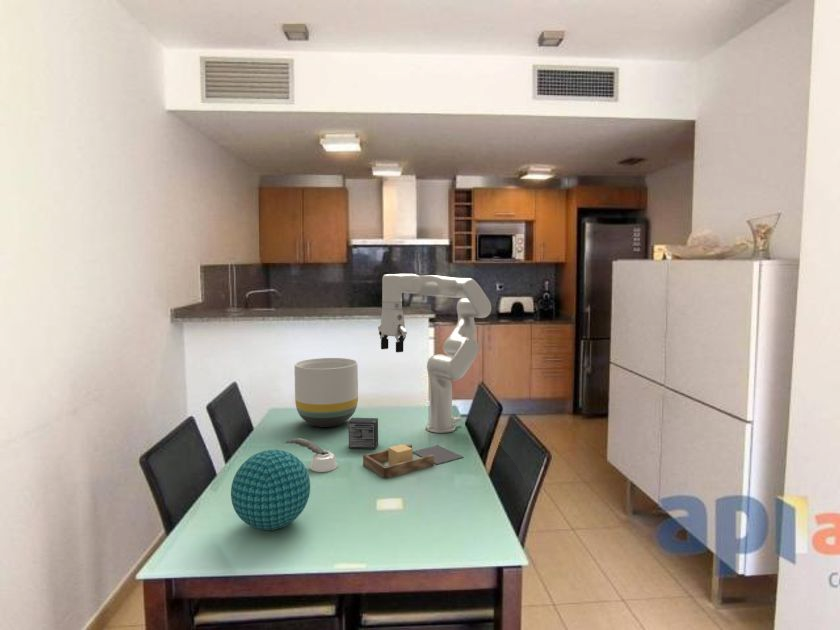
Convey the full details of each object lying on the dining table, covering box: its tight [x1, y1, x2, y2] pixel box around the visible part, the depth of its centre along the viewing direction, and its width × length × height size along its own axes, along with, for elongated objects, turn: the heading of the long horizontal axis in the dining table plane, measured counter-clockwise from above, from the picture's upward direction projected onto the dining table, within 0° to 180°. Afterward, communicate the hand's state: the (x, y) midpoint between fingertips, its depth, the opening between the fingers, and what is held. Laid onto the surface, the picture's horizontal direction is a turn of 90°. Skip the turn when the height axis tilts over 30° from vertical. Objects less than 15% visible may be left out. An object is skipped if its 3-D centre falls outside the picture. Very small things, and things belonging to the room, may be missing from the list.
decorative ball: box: [230, 449, 311, 531], centre depth 137 cm, size 20×20×20 cm
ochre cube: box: [388, 443, 414, 466], centre depth 180 cm, size 6×6×6 cm
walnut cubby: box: [362, 443, 435, 480], centre depth 180 cm, size 20×14×4 cm
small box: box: [348, 417, 379, 450], centre depth 199 cm, size 11×6×10 cm, turn 84°
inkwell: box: [284, 437, 338, 473], centre depth 178 cm, size 9×18×10 cm, turn 91°
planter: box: [294, 357, 359, 428], centre depth 227 cm, size 27×27×27 cm
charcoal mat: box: [413, 444, 464, 466], centre depth 190 cm, size 12×15×1 cm
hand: (391, 350), depth 202 cm, fingers open, 9 cm apart
